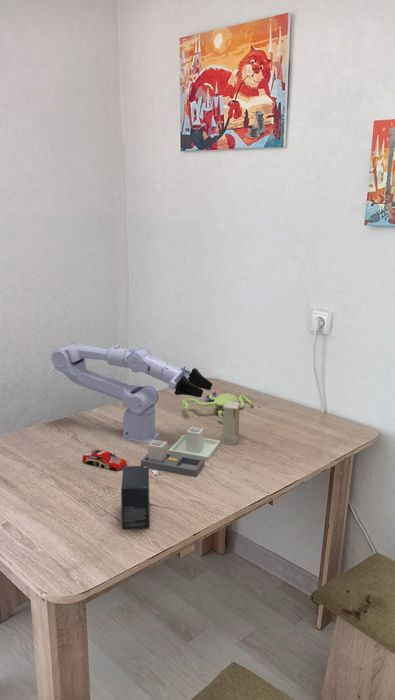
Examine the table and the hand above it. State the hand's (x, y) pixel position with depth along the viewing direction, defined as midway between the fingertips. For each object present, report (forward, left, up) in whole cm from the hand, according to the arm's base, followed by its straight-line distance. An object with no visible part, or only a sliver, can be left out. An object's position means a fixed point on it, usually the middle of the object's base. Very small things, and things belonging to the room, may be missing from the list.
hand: (206, 390), depth 162 cm
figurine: (-6, +31, -19) cm, 37 cm away
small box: (-3, -40, -19) cm, 45 cm away
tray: (-2, -2, -18) cm, 19 cm away
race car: (-22, -20, -19) cm, 36 cm away
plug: (-2, -2, -18) cm, 18 cm away
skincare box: (+6, +8, -19) cm, 21 cm away
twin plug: (-9, -15, -18) cm, 25 cm away
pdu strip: (-4, -15, -18) cm, 24 cm away
